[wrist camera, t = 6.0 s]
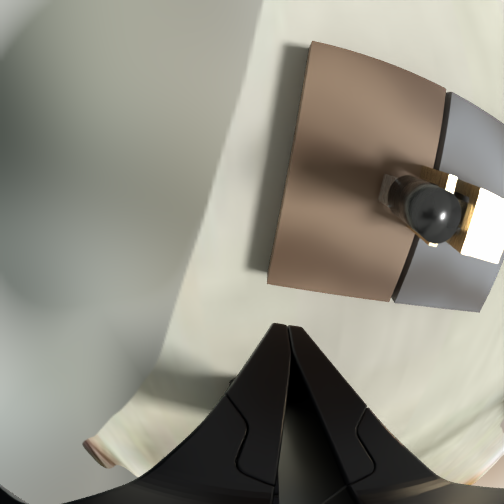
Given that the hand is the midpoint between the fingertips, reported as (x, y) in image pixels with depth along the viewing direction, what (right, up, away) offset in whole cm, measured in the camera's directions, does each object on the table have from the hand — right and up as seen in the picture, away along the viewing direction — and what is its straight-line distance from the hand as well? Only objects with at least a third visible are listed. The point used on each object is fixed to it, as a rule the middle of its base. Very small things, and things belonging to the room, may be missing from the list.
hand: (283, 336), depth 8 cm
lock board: (+11, +6, +9) cm, 15 cm away
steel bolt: (+10, +5, +7) cm, 14 cm away
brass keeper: (+12, +5, +7) cm, 15 cm away
